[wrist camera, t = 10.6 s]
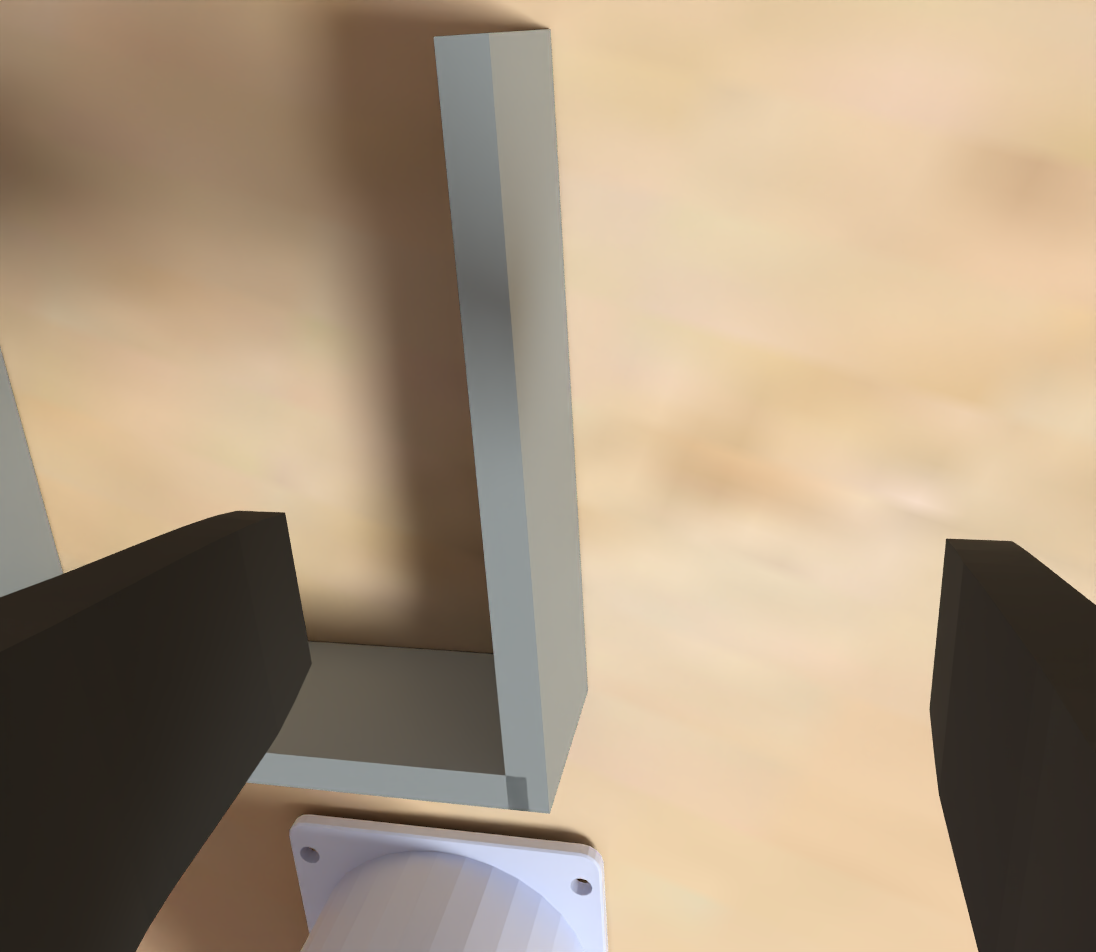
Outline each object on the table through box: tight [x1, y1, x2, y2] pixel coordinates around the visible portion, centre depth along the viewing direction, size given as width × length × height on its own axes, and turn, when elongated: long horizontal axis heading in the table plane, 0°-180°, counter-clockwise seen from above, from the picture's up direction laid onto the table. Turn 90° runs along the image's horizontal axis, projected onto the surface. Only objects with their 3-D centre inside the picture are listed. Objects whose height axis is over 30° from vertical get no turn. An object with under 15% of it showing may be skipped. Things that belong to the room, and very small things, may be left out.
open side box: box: [0, 29, 588, 814], centre depth 20 cm, size 14×14×4 cm
